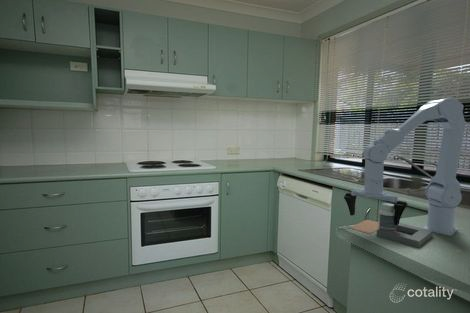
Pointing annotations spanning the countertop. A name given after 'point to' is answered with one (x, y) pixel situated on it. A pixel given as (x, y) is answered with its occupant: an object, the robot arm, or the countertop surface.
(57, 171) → the countertop surface
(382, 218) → the pill bottle
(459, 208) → the countertop surface
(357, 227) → the rubber pad
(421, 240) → the socket dock
